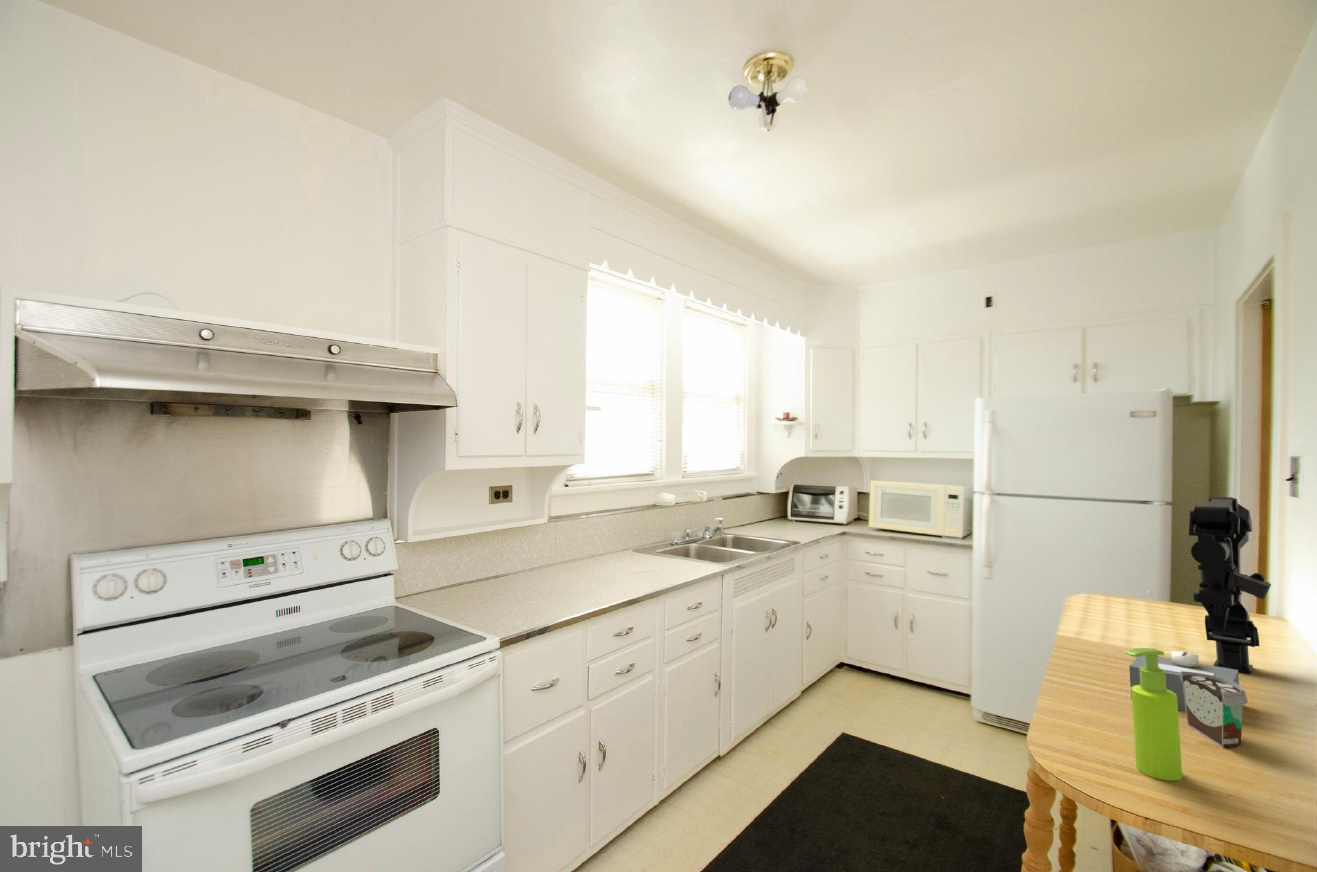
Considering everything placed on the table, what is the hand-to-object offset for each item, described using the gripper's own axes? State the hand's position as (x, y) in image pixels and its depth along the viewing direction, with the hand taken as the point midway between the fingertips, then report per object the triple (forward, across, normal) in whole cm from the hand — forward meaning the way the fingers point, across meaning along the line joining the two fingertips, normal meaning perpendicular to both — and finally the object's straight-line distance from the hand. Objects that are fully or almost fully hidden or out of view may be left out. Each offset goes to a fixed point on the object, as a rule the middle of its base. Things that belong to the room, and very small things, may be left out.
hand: (1221, 629), depth 136 cm
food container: (+13, -35, -4) cm, 37 cm away
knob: (+9, -16, +4) cm, 19 cm away
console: (+12, -19, +4) cm, 23 cm away
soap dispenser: (+13, -59, +2) cm, 60 cm away
